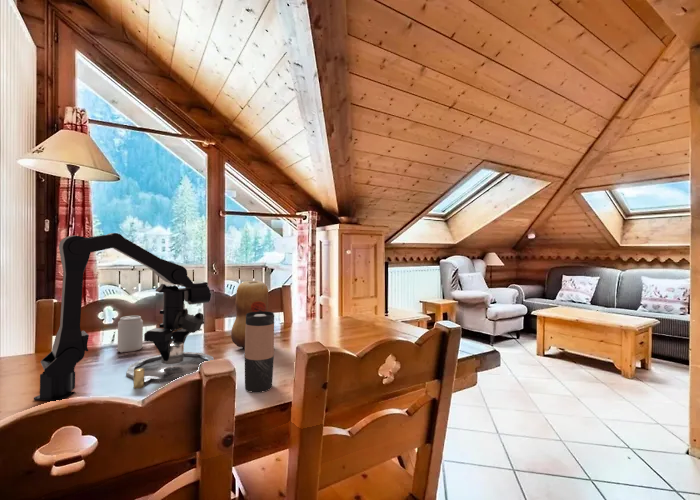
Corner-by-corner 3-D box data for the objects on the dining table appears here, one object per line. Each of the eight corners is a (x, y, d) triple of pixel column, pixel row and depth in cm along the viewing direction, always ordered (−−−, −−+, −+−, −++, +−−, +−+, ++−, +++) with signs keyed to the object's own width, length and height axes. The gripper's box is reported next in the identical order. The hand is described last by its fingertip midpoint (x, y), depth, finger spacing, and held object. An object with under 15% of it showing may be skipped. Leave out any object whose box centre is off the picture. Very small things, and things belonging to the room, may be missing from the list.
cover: (176, 364, 103) (176, 347, 103) (156, 363, 103) (157, 346, 103) (187, 358, 109) (187, 342, 109) (169, 357, 109) (169, 341, 109)
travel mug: (275, 382, 99) (277, 311, 98) (270, 393, 91) (271, 317, 91) (248, 381, 99) (249, 310, 98) (240, 393, 91) (242, 316, 91)
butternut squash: (239, 356, 120) (241, 283, 120) (225, 346, 131) (227, 280, 130) (276, 349, 129) (277, 281, 129) (260, 341, 140) (261, 278, 139)
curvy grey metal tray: (178, 393, 89) (179, 374, 89) (93, 388, 91) (93, 369, 91) (226, 358, 117) (226, 343, 117) (160, 355, 119) (160, 340, 119)
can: (130, 354, 119) (131, 319, 119) (111, 353, 120) (112, 318, 120) (147, 348, 126) (148, 315, 126) (129, 346, 128) (130, 314, 128)
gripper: (181, 313, 96) (180, 369, 96) (213, 302, 115) (212, 349, 115) (143, 311, 97) (142, 367, 97) (181, 301, 116) (180, 348, 116)
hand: (172, 357), depth 106 cm, fingers closed on cover, 6 cm apart
